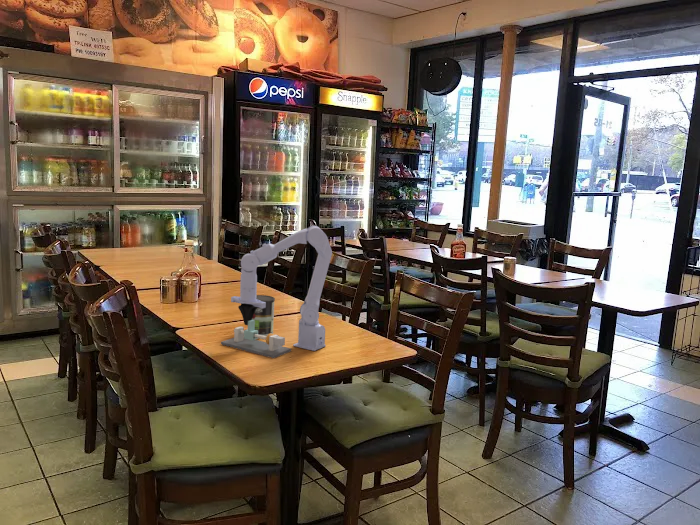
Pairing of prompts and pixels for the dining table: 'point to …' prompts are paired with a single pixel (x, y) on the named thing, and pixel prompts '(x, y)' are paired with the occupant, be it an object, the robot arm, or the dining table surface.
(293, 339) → the dining table surface
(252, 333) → the sleeve
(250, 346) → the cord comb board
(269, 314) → the coffee can
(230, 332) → the dining table surface
